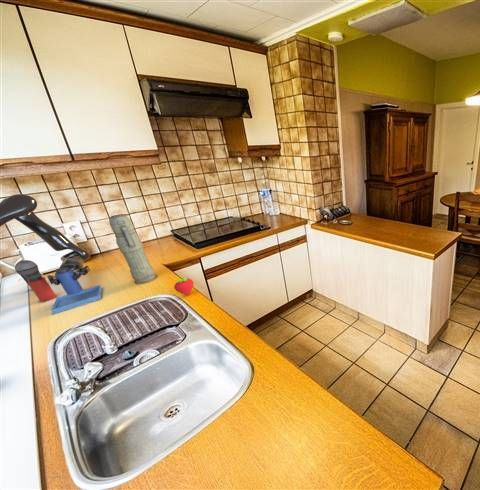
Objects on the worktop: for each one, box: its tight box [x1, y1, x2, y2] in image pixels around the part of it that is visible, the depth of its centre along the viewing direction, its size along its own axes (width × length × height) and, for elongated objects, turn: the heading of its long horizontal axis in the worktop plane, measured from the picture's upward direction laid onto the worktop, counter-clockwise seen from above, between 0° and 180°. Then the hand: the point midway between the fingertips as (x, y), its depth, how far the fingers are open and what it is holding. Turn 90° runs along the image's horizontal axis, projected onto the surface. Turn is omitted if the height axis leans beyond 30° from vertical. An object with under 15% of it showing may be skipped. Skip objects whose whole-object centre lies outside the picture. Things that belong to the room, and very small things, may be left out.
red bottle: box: [27, 274, 57, 303], centre depth 124 cm, size 5×5×12 cm
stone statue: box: [108, 213, 157, 285], centre depth 132 cm, size 9×12×35 cm
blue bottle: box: [54, 267, 84, 295], centre depth 119 cm, size 5×5×12 cm
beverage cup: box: [14, 251, 42, 287], centre depth 133 cm, size 7×7×20 cm
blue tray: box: [51, 285, 103, 315], centre depth 123 cm, size 15×13×2 cm
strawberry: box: [173, 276, 194, 296], centre depth 121 cm, size 6×8×10 cm
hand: (66, 280), depth 117 cm, fingers closed on blue bottle, 5 cm apart
